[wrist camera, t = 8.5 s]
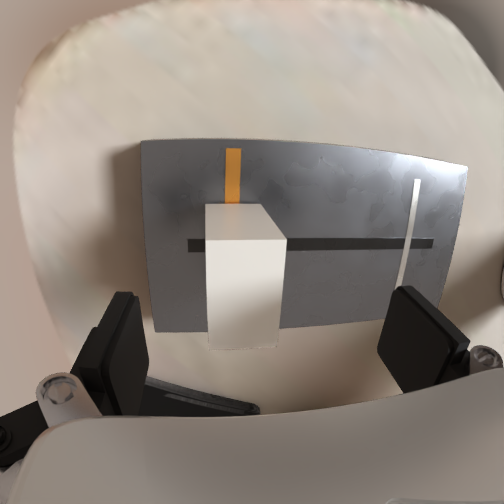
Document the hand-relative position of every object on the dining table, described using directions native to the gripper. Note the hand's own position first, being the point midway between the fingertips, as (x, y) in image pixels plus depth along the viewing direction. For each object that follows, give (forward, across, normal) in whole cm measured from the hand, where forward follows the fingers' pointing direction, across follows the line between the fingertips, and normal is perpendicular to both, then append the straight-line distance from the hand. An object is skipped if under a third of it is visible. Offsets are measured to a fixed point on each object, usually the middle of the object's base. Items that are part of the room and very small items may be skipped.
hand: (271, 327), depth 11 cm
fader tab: (+8, +1, 0) cm, 8 cm away
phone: (+12, +6, +18) cm, 22 cm away
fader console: (+11, -5, 0) cm, 12 cm away
